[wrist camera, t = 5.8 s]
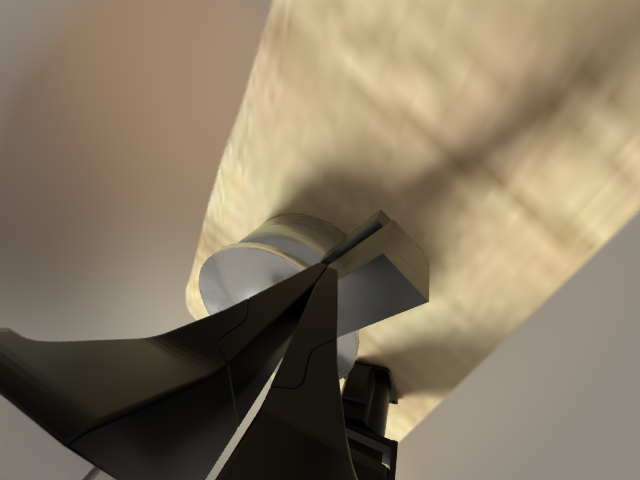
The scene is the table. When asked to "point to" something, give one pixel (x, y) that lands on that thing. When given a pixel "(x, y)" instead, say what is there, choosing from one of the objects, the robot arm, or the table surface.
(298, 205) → the table surface
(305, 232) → the pot
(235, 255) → the lid
